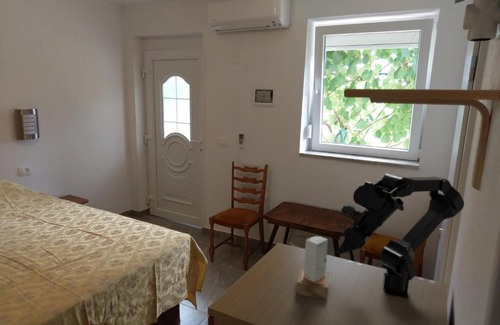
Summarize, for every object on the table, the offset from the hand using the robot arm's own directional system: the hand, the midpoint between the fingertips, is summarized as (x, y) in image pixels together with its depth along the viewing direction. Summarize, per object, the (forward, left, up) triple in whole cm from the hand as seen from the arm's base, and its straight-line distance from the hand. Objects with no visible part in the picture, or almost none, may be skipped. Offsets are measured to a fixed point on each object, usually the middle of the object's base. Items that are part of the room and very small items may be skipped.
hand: (342, 248), depth 102 cm
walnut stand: (+8, +3, -13) cm, 16 cm away
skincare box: (+8, +3, -9) cm, 12 cm away
